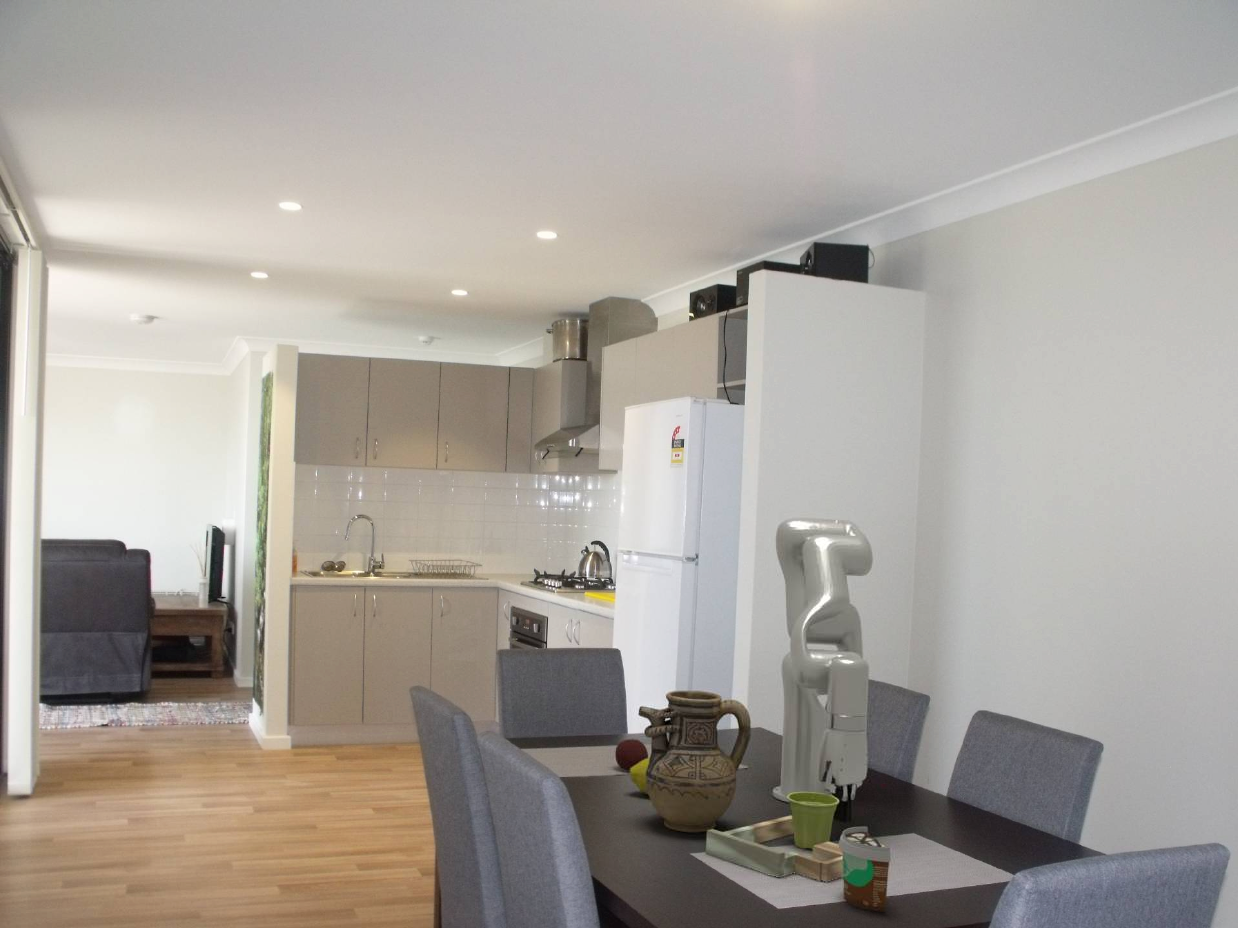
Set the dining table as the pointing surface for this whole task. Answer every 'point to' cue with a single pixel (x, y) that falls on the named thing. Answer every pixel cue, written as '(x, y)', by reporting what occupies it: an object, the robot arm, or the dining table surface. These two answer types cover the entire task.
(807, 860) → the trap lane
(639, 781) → the lemon
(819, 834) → the plant pot
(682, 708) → the decorative pitcher
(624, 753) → the dark red ball
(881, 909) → the food container
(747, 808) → the dining table surface
